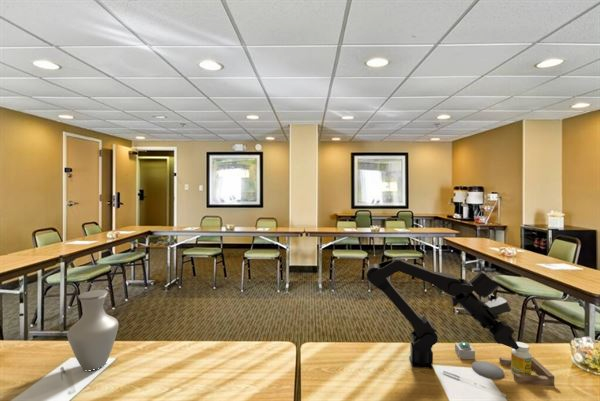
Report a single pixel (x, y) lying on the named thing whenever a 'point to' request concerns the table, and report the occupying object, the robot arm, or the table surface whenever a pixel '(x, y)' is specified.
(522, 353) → the supplement bottle
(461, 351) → the plunger block
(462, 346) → the plunger
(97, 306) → the vase
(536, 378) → the housing rails
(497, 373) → the rubber pad
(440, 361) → the table surface
